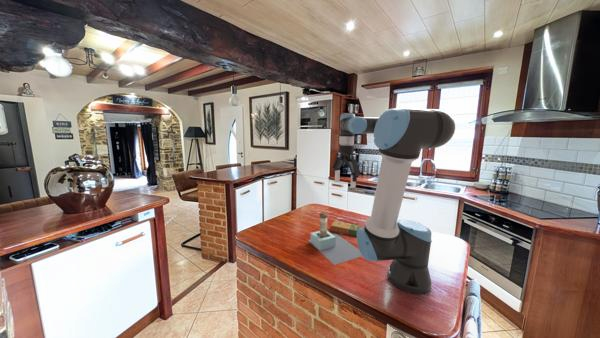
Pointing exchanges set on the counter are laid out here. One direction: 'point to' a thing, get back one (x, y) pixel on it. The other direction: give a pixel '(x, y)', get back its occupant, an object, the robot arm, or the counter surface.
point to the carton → (345, 228)
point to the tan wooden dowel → (323, 225)
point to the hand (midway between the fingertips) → (344, 184)
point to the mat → (340, 251)
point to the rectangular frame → (323, 240)
